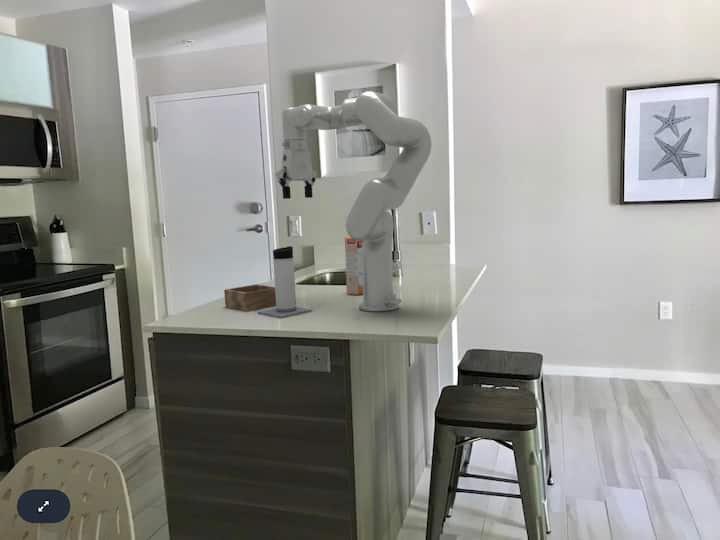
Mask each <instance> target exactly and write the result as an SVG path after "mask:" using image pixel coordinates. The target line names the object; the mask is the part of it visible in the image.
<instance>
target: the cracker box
mask: <svg viewBox="0 0 720 540" xmlns="http://www.w3.org/2000/svg"><path fill="white" fill-rule="evenodd" d="M362 245H363V241H357V240H354V239H352V238H351V237H350V236H348V237H346V236H345V237H344V248H345V249H344V253H345V281H346V284H345V285H346V286H345V287H346V295H350V294H352V295H354V296H360V295H363V275H362ZM352 295H351V296H352Z"/></svg>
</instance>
